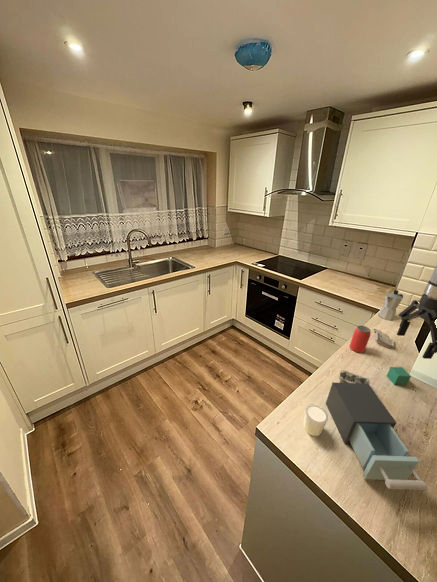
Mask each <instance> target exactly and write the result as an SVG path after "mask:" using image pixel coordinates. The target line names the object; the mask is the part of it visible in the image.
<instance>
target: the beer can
mask: <svg viewBox="0 0 437 582" xmlns="http://www.w3.org/2000/svg"><path fill="white" fill-rule="evenodd" d="M370 338H371V329H370V328H369V327H368V326H366V325H357V326H356V328H355V329H354V331H353V335H352V338H351V340H350V344H349V348H350V350H352V351H353V352H355V353H361V354H362V353H364V352H365V350H366V348H367V346H368V343H369V340H370Z"/></svg>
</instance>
